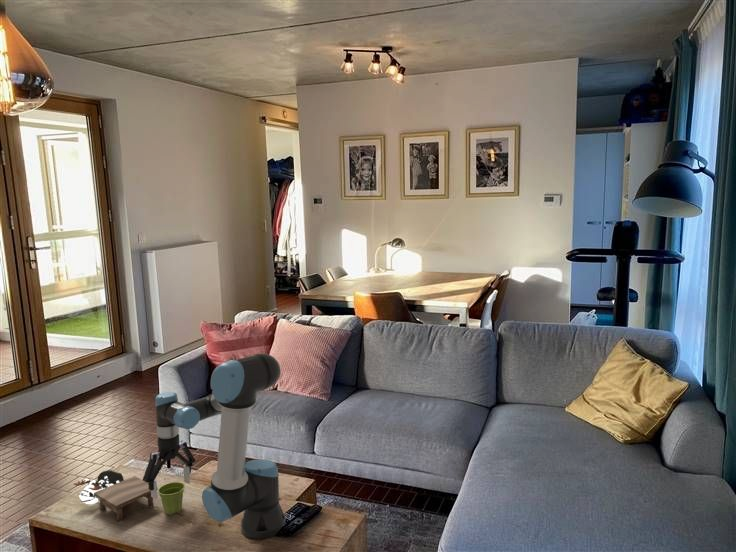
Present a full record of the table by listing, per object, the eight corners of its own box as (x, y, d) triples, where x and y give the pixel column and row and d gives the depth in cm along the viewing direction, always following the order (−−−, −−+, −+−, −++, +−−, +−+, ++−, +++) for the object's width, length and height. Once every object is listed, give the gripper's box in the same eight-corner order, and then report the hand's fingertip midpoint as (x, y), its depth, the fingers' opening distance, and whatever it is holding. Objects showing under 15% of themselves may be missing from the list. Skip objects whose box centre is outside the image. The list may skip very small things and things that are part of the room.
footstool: (158, 504, 202) (157, 487, 202) (117, 524, 190) (115, 505, 189) (135, 492, 212) (134, 475, 211) (95, 510, 199) (93, 492, 199)
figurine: (132, 472, 215) (96, 485, 198) (129, 496, 215) (93, 511, 198) (105, 466, 220) (68, 478, 203) (102, 489, 219) (64, 503, 202)
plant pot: (177, 518, 193) (176, 495, 192) (154, 516, 195) (152, 493, 194) (191, 504, 202) (189, 483, 201) (168, 502, 204) (167, 481, 203)
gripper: (191, 421, 208) (193, 473, 210) (130, 443, 188) (133, 501, 190) (203, 426, 203) (205, 479, 206) (141, 449, 183) (145, 507, 186)
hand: (171, 489), depth 198 cm, fingers open, 13 cm apart
